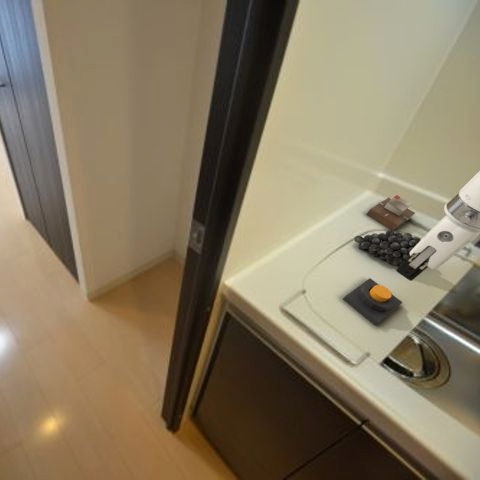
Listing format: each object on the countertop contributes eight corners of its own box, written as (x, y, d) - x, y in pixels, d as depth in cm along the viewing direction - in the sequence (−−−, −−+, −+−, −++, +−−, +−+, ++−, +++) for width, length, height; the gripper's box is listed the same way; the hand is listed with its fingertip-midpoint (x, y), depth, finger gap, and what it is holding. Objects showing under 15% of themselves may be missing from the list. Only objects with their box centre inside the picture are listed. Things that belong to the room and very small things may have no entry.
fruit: (367, 225, 82) (438, 248, 77) (363, 215, 88) (429, 235, 83) (349, 254, 86) (415, 277, 81) (347, 242, 93) (408, 262, 88)
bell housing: (364, 283, 81) (374, 273, 78) (396, 307, 77) (408, 298, 74) (340, 300, 78) (350, 291, 75) (372, 327, 73) (384, 318, 70)
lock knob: (402, 214, 94) (412, 203, 91) (399, 216, 94) (409, 205, 90) (386, 205, 97) (396, 194, 94) (383, 207, 96) (393, 196, 93)
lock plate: (381, 204, 102) (387, 196, 99) (409, 220, 97) (417, 213, 95) (363, 215, 98) (369, 207, 96) (392, 233, 93) (399, 225, 91)
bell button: (374, 286, 76) (379, 282, 75) (389, 298, 74) (395, 293, 73) (366, 293, 75) (370, 289, 74) (381, 305, 73) (386, 300, 71)
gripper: (482, 241, 50) (403, 303, 64) (522, 208, 55) (441, 271, 69) (430, 213, 54) (367, 277, 68) (472, 184, 60) (405, 248, 73)
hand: (405, 274), depth 68 cm, fingers closed
